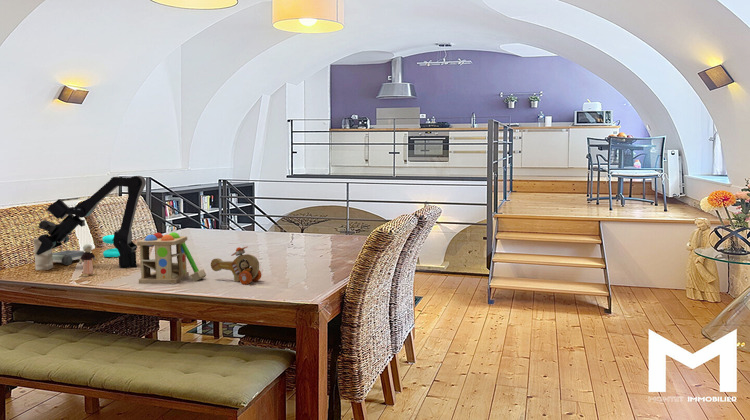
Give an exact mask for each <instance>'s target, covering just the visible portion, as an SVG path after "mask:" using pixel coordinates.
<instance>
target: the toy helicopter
mask: <svg viewBox="0 0 750 420" xmlns="http://www.w3.org/2000/svg"><path fill="white" fill-rule="evenodd" d="M247 248H249V246H245V247H240V246H239V247H237V248H236V249H235V252H234V253H232V254H231V257H233V256H237V257H236V258H235V259H233V260H232V261H231V260H227V261H226V260H222V259H221V258H218V257H217V258H213V259H211V262H210V267H211V269H212V270H213V271H214V272H218V271H219V272H220V271H222V270H226V271H230V272H232V275H233V280H234V282H236V283H239V282H240V284H242V285H244V286H245V285H249V284H251V283H252V282H256V281H257V282H258V281H260V280H261V278H262V272H261V270H260V262H259V259H258V258H257V257H256V256H255V255H252V254H249V253H246V250H245V249H247Z"/></svg>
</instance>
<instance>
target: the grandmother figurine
mask: <svg viewBox="0 0 750 420" xmlns="http://www.w3.org/2000/svg"><path fill="white" fill-rule="evenodd" d="M92 248H93V247H92V245H91V244H90V243H85V244H84V245H83V246H82V249H83V250H82V251H85V253H83V255H82V257H81V258H80V259H79V262H78V265H82V264H83V265H82V277H89V276H94V275H95V274H94V266H93V261H95V262H96V261H97V258H96V256H95V254H94V253H93V252H91V251H92ZM92 260H93V261H92Z"/></svg>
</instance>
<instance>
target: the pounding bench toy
mask: <svg viewBox="0 0 750 420" xmlns="http://www.w3.org/2000/svg"><path fill="white" fill-rule="evenodd" d="M186 241H188V236H187V235H185V236H181V235H180V234H179V233H177V232H175V231H174V232H170V233H168V234H165V235H163V234H162V233H161V232H155V233H153V234H148V235H146V237H145V238H142V239H139V240H137V241H136V245H137V246H139V252H140V253H139V254H140V256H139V257H140V273H141V274H140V275H141V277H140V278H138V284H178V283H180V282H182V281H183V280H184V279H186V278H188V277H189V275H190V276H191V278H192V280H193V282H198V281H199V280H200V281H201V280H202V279H204V278H206V276H207V274H206V271H205V270H204V269H201V270H199V268H198V266H197V264H196V262H195V260H194V258H193V256H192V254H191V252H190V249H189V248H188V247H187V244H186ZM172 246H175V251H176V252H175V253H173V254H172ZM151 247H154V258H155V259H154V258H152V259H150V248H151ZM174 257H176V261H177V262H173V258H174ZM187 261H188V263H189V264H190V266H191V268H192V270H193V271H192V272H194V273H192V274H190V273H189V271H188V270H187ZM151 270H153V271H154V272H151Z"/></svg>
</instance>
